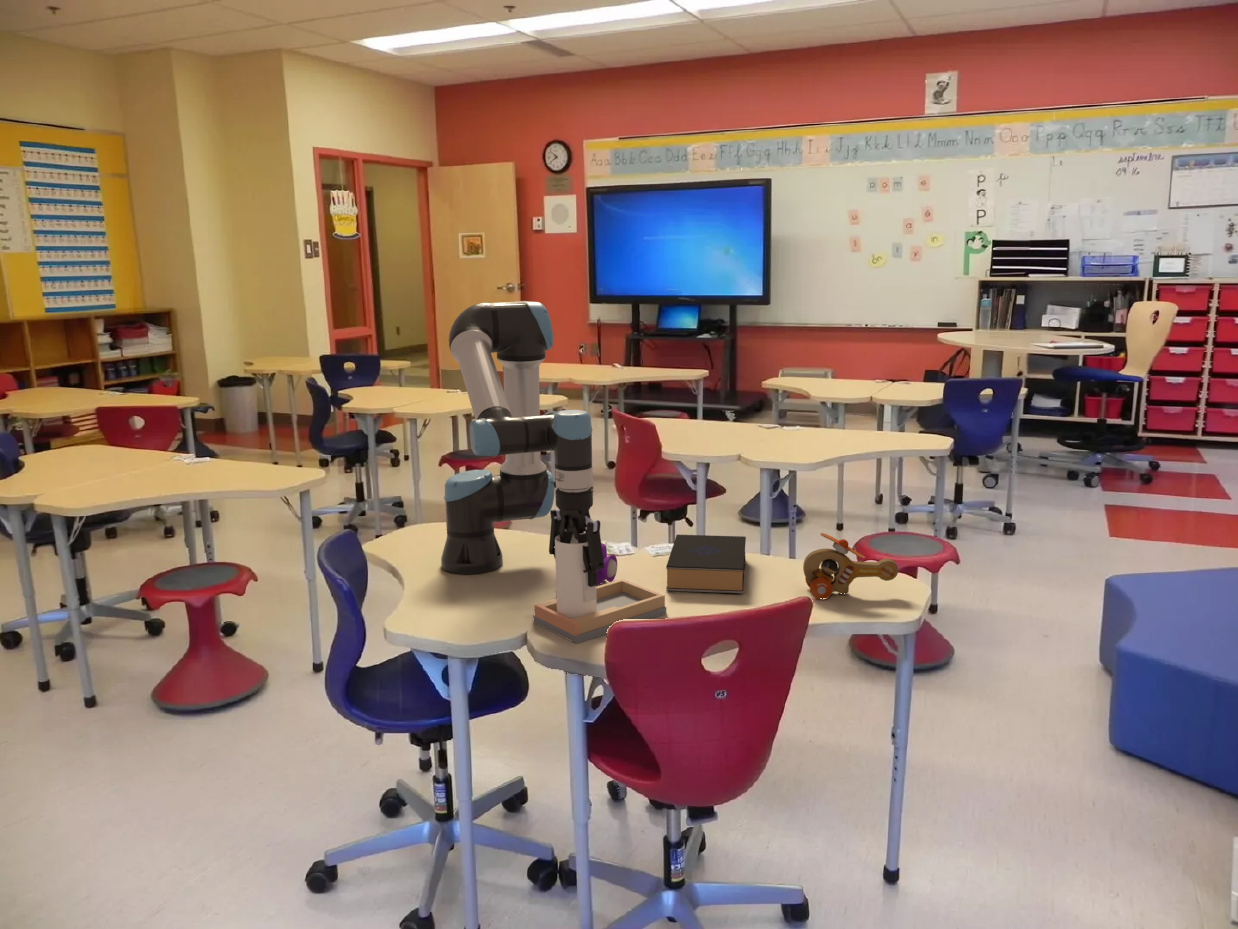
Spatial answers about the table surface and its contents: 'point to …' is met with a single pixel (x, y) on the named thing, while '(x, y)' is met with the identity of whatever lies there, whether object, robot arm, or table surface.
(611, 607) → the board
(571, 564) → the cup
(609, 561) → the toy camera
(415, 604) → the table surface
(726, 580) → the book
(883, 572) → the toy helicopter
